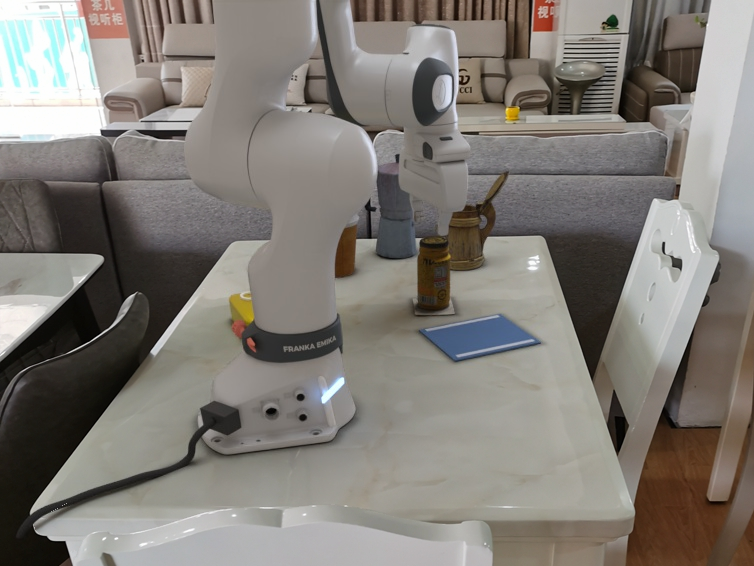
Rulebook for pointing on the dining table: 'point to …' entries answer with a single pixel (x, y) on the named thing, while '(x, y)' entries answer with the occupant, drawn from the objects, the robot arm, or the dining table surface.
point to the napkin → (478, 337)
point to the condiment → (433, 277)
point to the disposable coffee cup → (346, 249)
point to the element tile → (241, 307)
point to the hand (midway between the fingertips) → (430, 227)
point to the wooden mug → (472, 230)
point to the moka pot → (393, 215)
